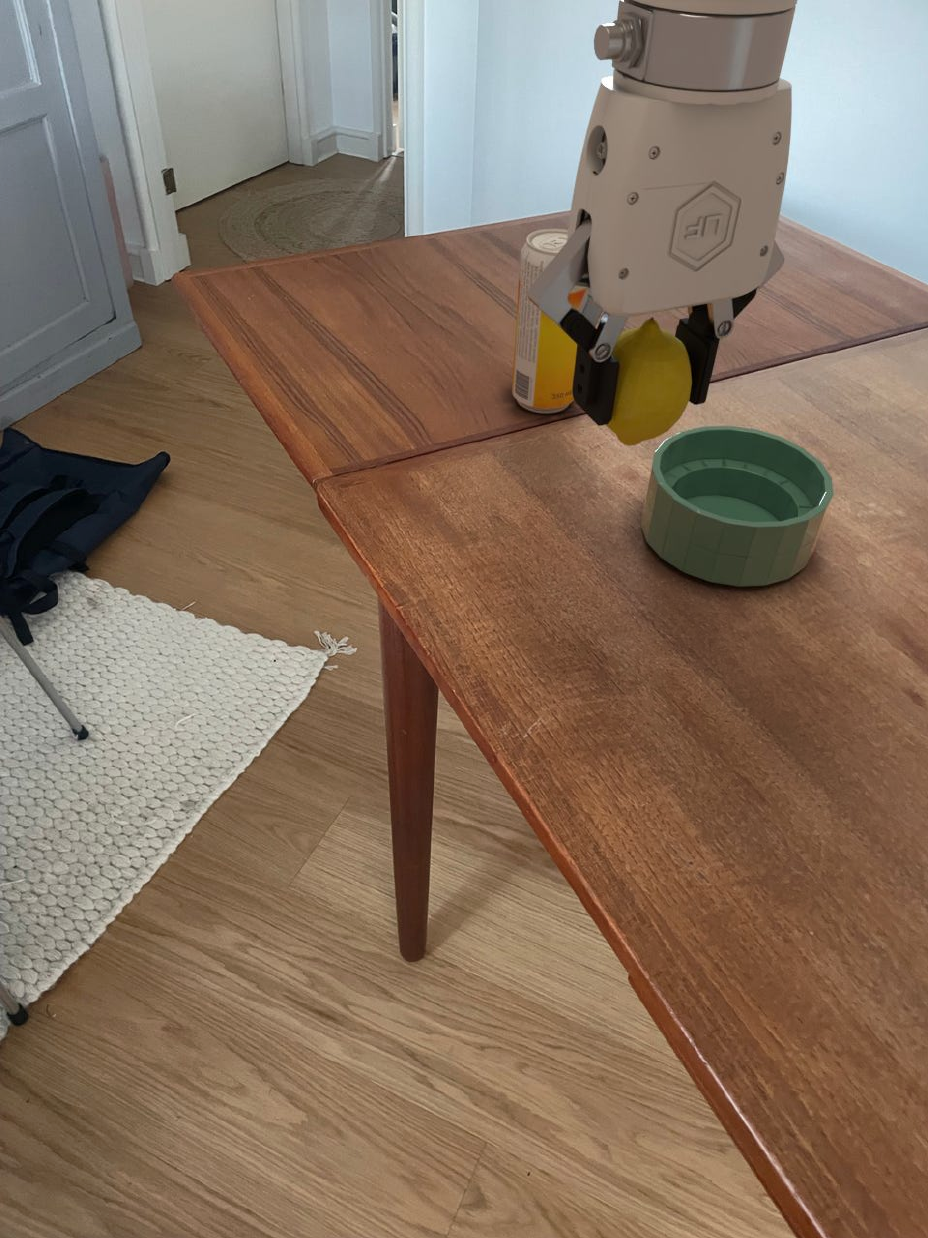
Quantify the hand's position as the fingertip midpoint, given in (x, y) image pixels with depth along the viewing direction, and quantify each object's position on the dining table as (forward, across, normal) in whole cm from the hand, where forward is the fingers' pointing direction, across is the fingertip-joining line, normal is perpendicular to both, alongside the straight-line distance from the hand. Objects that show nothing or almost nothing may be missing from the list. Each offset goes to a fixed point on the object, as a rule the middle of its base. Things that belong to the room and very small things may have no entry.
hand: (639, 400), depth 54 cm
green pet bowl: (+18, +14, +5) cm, 23 cm away
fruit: (+3, 0, 0) cm, 3 cm away
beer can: (+18, +10, +29) cm, 35 cm away
